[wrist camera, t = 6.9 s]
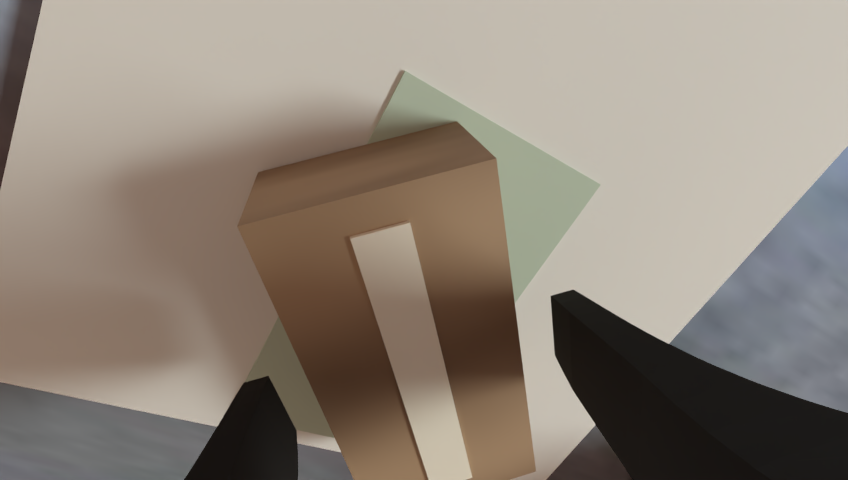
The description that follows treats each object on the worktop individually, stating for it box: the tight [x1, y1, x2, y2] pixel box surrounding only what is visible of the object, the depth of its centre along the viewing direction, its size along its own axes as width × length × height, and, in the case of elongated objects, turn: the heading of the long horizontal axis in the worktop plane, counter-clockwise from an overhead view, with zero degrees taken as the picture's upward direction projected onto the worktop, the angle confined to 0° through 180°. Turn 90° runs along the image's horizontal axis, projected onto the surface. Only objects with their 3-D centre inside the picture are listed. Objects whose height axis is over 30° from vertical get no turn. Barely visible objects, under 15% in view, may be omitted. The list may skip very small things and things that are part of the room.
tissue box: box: [237, 121, 536, 480], centre depth 12 cm, size 10×5×3 cm, turn 11°
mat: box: [0, 0, 848, 480], centre depth 13 cm, size 20×20×1 cm
